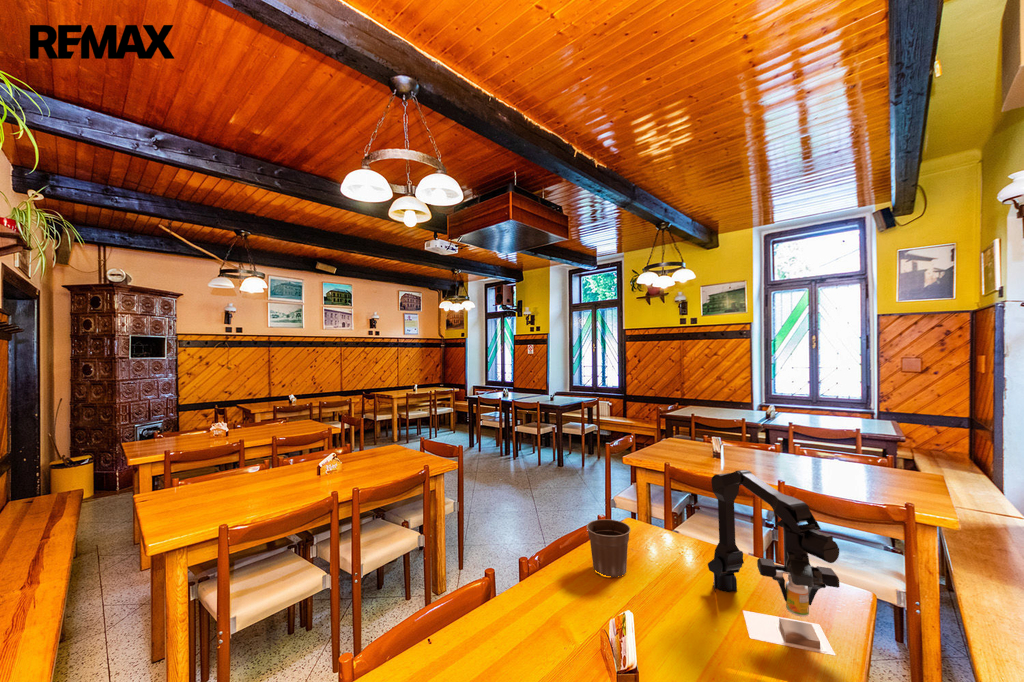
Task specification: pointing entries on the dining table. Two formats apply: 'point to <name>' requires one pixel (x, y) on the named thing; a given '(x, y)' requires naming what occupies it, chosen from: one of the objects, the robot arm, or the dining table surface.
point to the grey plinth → (799, 633)
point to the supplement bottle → (797, 598)
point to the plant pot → (609, 546)
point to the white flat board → (771, 632)
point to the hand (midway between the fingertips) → (797, 602)
